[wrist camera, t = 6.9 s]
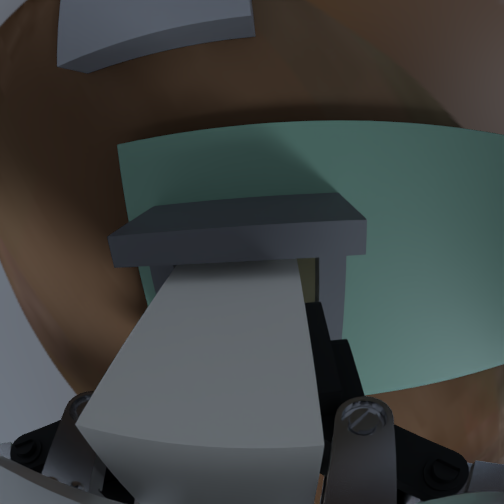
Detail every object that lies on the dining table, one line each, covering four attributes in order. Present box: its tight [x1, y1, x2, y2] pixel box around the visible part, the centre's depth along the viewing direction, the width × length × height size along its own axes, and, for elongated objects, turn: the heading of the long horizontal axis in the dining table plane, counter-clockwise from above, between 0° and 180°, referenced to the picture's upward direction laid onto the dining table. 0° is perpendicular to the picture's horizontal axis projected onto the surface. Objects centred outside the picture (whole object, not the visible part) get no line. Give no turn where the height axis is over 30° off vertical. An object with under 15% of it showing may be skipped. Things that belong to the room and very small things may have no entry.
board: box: [107, 121, 504, 395], centre depth 12 cm, size 22×14×5 cm, turn 95°
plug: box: [75, 259, 324, 504], centre depth 8 cm, size 4×5×9 cm
